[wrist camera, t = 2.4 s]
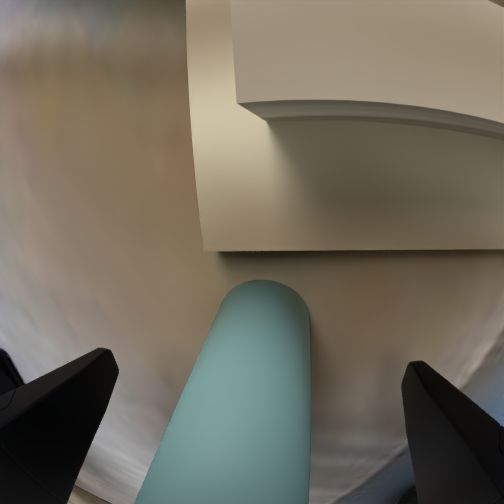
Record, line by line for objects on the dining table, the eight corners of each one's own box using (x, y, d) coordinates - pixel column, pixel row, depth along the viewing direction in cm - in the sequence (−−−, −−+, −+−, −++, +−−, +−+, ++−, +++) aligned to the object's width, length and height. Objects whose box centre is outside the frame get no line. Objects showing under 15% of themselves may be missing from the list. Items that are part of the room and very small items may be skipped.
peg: (307, 354, 11) (297, 567, 3) (224, 352, 11) (157, 546, 4) (310, 279, 10) (313, 547, 2) (214, 279, 10) (95, 503, 3)
